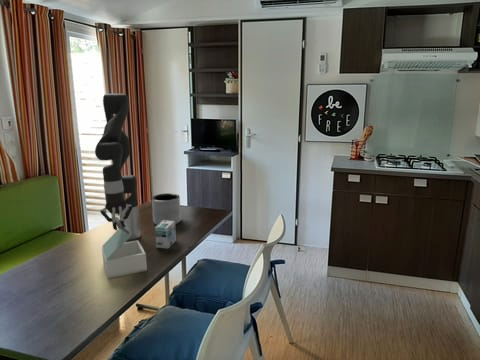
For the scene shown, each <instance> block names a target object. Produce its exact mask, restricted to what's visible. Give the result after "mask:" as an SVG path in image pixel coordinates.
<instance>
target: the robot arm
mask: <svg viewBox="0 0 480 360" xmlns="http://www.w3.org/2000/svg"><path fill="white" fill-rule="evenodd" d="M129 100H130V99H129V97H128V95H127V94H125V93H105V94H104V95H103V96H102V105H103V111H104V114H105V120H106V124H105V126H104V129H103V134H102V136H101V138H100V139H99V141H98V142H97V144H96V146H95V150H94V154H95V158H97V159H98V160H99V161H112V164H109V165H106V166H103V168H102V176H103V191H104V196H105V197H104V198H105V205H104V208H102V209H100V210H99V211H100V214H101V216H103V217H104V218H105V220H106V221H107V223H108V222H109V223H112V228H113V230H114V231H115V232H116V231H117V230H118V226H117V224H116V220H115V217H116V215H118V217H119V220H120V222H121V224H122V226H123V227H124V223H126V224H127V226H128V227H129V229H130V231H131V233H132V235H131V236H130V237H129V238H128V239H127V240H126V241H129V240H132V241H133V240H136V239H138V238H140V237H141V226H140V214H139V203H138V202H139V201H138V185H137V184H138V182H137V178H136V177H137V176H135V175H129V174H128V175H122V169H123V167H124V165H125V163H126V162H127V160H128V158H129V157H130V154H131V143H130V140H129V137H128V136H127V134H126V132H125V131H124V130H123V128H124V124H125V121H126V120H127V117H128V113H129V111H130V101H129ZM125 194H130V195H129V196H126V197H125ZM107 211H108V212H109V213H110V214H111V217H110V216H109V215H108V214H107Z"/></svg>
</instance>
